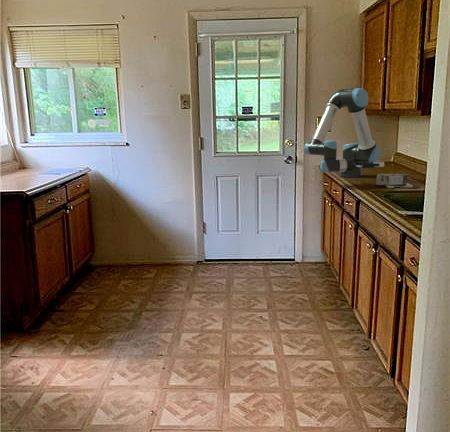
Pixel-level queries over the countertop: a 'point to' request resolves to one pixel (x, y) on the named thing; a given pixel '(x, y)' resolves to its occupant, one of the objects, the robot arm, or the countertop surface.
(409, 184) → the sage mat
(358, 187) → the countertop surface
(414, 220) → the countertop surface
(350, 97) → the robot arm
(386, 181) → the coffee box
